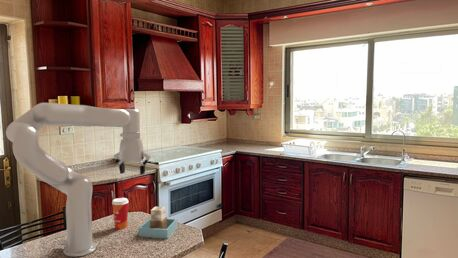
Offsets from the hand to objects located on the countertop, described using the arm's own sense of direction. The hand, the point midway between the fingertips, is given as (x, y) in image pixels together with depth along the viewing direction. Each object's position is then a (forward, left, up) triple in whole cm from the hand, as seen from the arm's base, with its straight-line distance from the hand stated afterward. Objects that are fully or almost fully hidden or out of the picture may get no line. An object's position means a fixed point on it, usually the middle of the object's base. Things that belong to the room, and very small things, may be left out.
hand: (132, 173), depth 155 cm
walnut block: (+11, +3, -28) cm, 30 cm away
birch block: (+11, +3, -22) cm, 24 cm away
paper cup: (-9, +5, -28) cm, 30 cm away
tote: (+11, +3, -28) cm, 31 cm away
